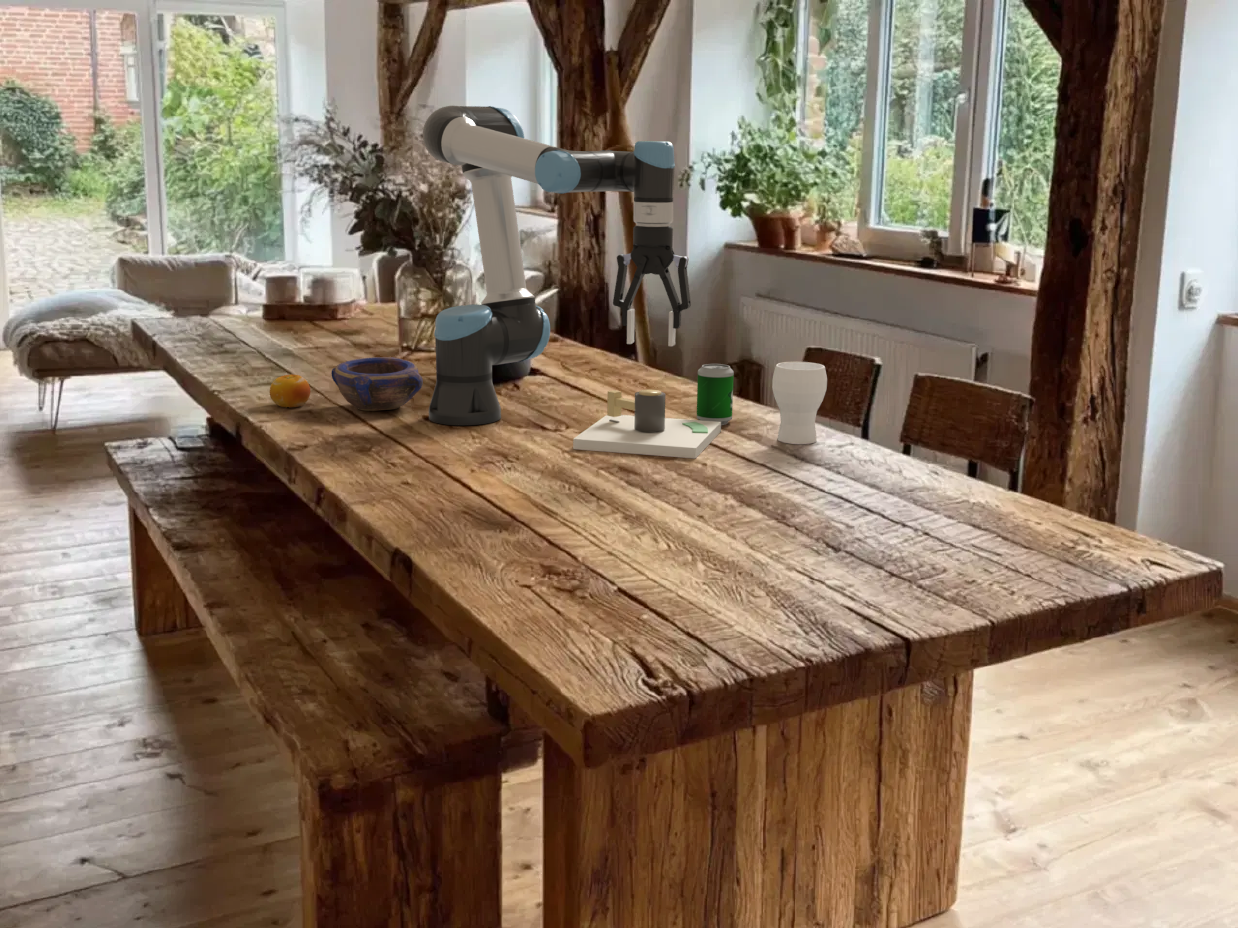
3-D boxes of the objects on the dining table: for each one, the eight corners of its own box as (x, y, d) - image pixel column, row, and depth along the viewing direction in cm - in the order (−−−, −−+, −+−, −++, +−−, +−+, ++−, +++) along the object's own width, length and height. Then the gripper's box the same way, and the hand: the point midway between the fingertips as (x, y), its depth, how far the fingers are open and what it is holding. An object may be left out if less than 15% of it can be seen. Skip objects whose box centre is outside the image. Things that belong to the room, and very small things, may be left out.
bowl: (349, 419, 269) (347, 372, 266) (326, 404, 284) (324, 359, 282) (431, 412, 277) (429, 366, 274) (404, 397, 292) (403, 354, 290)
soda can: (729, 427, 266) (731, 370, 263) (693, 425, 267) (695, 368, 264) (733, 419, 273) (735, 364, 270) (698, 417, 274) (700, 362, 271)
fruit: (255, 391, 279) (276, 361, 278) (279, 399, 287) (298, 369, 286) (280, 413, 276) (301, 382, 275) (303, 420, 284) (323, 390, 283)
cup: (828, 436, 258) (832, 363, 254) (818, 448, 248) (822, 372, 245) (776, 432, 261) (779, 359, 258) (764, 443, 252) (767, 368, 248)
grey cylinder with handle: (671, 428, 253) (671, 392, 251) (649, 433, 249) (650, 396, 247) (621, 417, 263) (621, 382, 261) (600, 421, 259) (600, 385, 257)
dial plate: (573, 449, 246) (573, 437, 245) (607, 423, 268) (607, 412, 267) (695, 458, 239) (696, 446, 239) (720, 431, 262) (721, 420, 261)
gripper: (595, 224, 243) (595, 344, 248) (701, 227, 237) (698, 349, 243) (606, 222, 250) (605, 338, 255) (710, 225, 244) (706, 344, 250)
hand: (651, 344), depth 249 cm, fingers open, 8 cm apart
